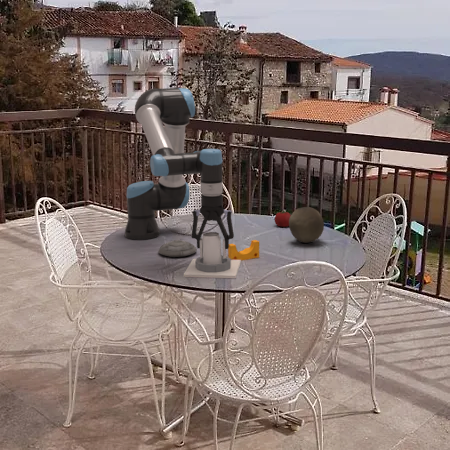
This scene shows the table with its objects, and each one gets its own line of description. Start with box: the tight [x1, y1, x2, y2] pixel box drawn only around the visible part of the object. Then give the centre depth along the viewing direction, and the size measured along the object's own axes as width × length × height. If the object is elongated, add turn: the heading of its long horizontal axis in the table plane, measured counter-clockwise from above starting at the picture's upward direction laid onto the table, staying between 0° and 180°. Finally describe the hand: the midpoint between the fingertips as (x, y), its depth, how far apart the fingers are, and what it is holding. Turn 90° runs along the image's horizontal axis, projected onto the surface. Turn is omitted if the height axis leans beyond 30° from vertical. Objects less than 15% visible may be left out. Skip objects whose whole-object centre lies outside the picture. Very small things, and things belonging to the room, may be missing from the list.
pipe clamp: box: [227, 239, 260, 262], centre depth 222 cm, size 12×4×6 cm, turn 118°
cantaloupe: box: [288, 206, 325, 244], centre depth 239 cm, size 14×14×15 cm
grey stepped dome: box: [158, 239, 198, 258], centre depth 230 cm, size 15×15×6 cm
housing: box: [183, 254, 242, 279], centre depth 209 cm, size 18×18×4 cm
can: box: [201, 231, 222, 265], centre depth 208 cm, size 6×6×12 cm
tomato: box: [274, 210, 292, 228], centre depth 269 cm, size 8×8×7 cm
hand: (213, 257), depth 209 cm, fingers open, 7 cm apart
